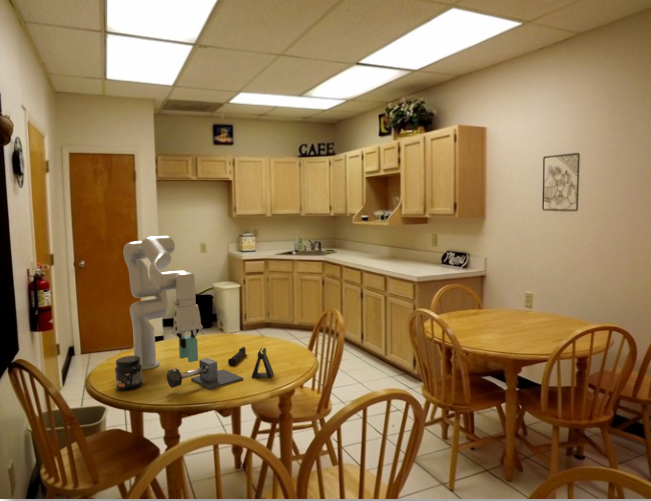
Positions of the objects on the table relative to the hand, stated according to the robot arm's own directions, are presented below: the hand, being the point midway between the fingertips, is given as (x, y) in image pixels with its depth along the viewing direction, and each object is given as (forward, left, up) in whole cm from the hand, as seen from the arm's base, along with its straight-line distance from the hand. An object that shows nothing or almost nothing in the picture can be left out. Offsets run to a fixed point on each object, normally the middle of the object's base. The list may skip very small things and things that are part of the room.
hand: (188, 346), depth 193 cm
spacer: (0, 0, -5) cm, 5 cm away
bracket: (0, +9, -17) cm, 19 cm away
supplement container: (-20, -17, -18) cm, 32 cm away
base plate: (0, +13, -18) cm, 22 cm away
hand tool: (-18, +35, -18) cm, 43 cm away
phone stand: (+10, +30, -18) cm, 36 cm away
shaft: (0, +2, -15) cm, 15 cm away
